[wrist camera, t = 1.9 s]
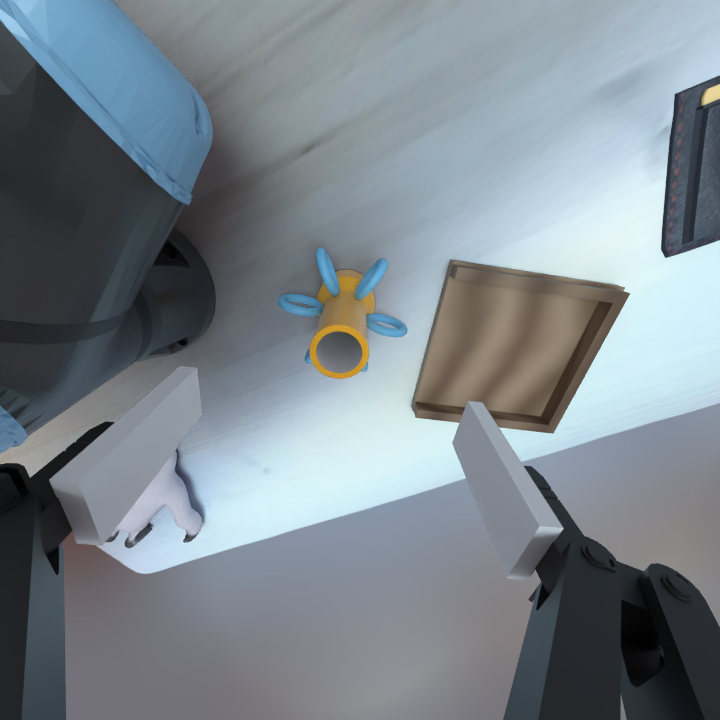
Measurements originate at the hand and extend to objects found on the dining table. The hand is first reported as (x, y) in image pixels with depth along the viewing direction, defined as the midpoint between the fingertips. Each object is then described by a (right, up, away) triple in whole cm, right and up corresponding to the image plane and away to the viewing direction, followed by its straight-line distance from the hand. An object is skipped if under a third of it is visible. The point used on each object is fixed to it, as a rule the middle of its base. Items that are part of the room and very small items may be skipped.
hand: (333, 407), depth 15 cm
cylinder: (0, +10, +19) cm, 21 cm away
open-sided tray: (+19, +3, +22) cm, 29 cm away
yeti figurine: (-31, -17, +33) cm, 48 cm away
